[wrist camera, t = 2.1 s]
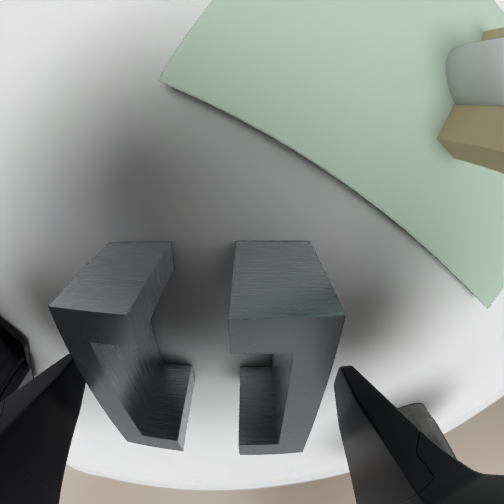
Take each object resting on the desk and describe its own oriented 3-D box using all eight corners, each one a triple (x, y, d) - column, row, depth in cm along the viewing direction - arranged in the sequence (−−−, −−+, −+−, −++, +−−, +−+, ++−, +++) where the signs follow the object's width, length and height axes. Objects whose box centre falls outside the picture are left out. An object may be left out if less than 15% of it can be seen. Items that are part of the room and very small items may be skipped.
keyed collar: (148, 374, 12) (127, 441, 8) (109, 242, 9) (48, 306, 5) (292, 379, 12) (302, 451, 8) (309, 241, 9) (345, 315, 5)
